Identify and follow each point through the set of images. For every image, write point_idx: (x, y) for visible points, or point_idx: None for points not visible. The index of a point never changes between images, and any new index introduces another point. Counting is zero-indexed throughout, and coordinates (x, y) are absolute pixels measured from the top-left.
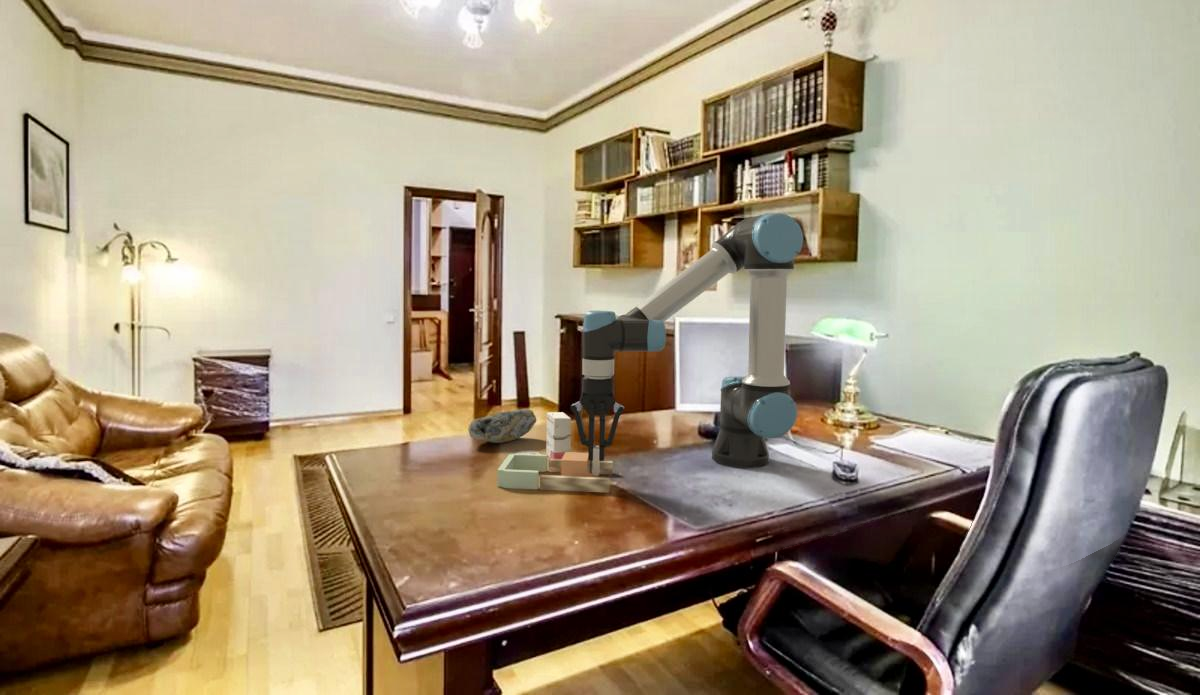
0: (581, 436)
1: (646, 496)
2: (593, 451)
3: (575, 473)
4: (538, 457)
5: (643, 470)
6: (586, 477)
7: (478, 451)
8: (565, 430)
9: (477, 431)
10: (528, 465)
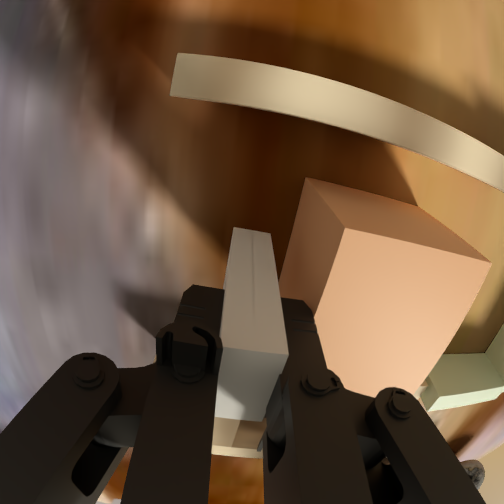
0: (437, 459)
1: (39, 43)
2: (282, 331)
3: (385, 211)
4: (457, 389)
5: (62, 351)
6: (335, 110)
7: (472, 436)
8: None
9: (476, 471)
10: (467, 366)
